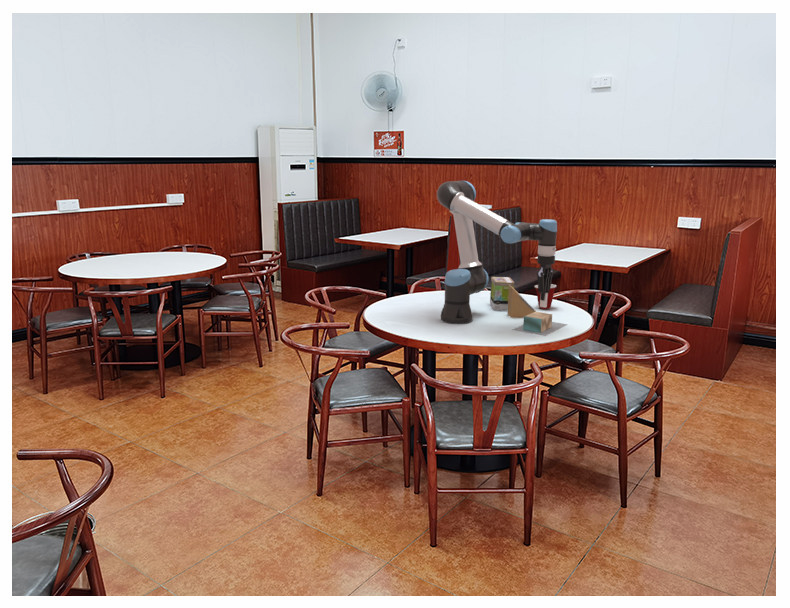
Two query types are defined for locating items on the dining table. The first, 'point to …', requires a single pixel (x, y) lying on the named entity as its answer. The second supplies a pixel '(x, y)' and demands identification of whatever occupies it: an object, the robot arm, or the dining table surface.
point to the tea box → (500, 292)
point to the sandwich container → (518, 305)
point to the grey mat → (554, 327)
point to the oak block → (537, 322)
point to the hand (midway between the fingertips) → (543, 306)
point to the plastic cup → (549, 297)
